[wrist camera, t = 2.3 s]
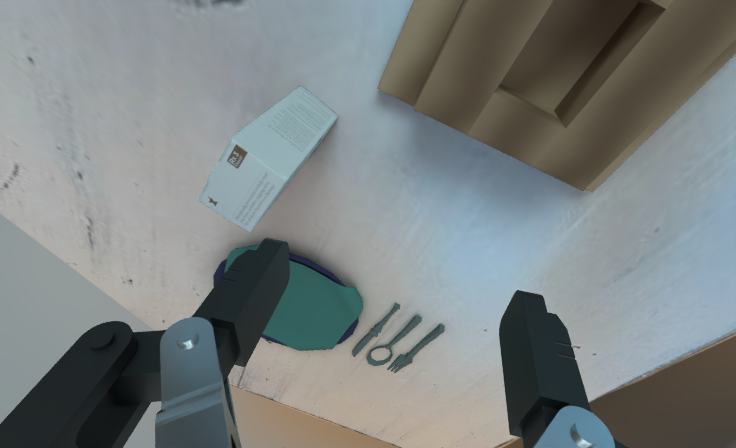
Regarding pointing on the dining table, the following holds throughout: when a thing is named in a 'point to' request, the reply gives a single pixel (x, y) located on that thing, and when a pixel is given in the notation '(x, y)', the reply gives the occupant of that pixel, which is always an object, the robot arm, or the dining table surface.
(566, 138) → the socket holder
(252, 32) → the dining table surface
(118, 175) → the dining table surface
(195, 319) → the robot arm
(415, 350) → the cutlery set
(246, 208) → the skincare box
